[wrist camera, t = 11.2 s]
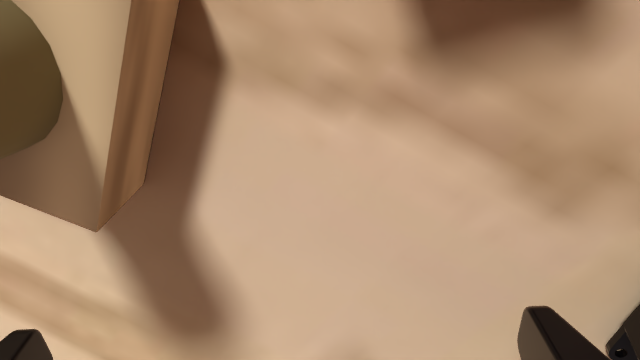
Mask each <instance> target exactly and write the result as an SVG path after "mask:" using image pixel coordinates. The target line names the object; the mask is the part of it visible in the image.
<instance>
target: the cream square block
mask: <svg viewBox="0 0 640 360" xmlns="http://www.w3.org/2000/svg"><path fill="white" fill-rule="evenodd" d="M11 1H13V2H14V3H15V4H16V5H17V6H18V7H19V8H20V9H21V10H23V11H24V12H25V13H26V14H27V15H28V16H29V17H30V18H31V19H32V20H33V22H34V23H35V24H36V26H37V27H38V29H39V30H40V32H41V33H42V35H43V36H44V37H45V39H46V40H47V42H48V43H49V45H50V47H51V50H52V52H53V55H54V57H55V60H56V62H57V65H58V68H59V70H60V73H61V83H62V93H63V102H62V106H61V110H60V114H59V118H58V122H57V123H56V125H55V126H54V127H53V129H52V130H51V131H50V133H49V134H48V135H47V137H46V138H45V139H43V140H41V141H40V142H38V143H36V144H34V145H32V146H30V147H28V148H26V149H24V150H21V151H19V152H16V153H14V154H12V155H9V156H7V157H4V158H2V159H0V195H1V196H3V197H6V198H9V199H11V200H14V201H16V202H19V203H22V204H24V205H27V206H29V207H32V208H34V209H37V210H40V211H42V212H45V213H47V214H50V215H53V216H55V217H58V218H60V219H63V220H66V221H68V222H71V223H73V224H76V225H78V226H81V227H84V228H86V229H89V230H91V231H94V232H97V231H98V230H99V229H100V228H101V227H102V226H103V225H104V224H105V223H106V222H107V221H108V220H109V219H110V218H111V217H112V216H113V215H114V214H115V213H116V212H117V211H118V210H119V209H120V208H121V207H122V206H123V205H124V204H125V203H126V202H127V201H128V200H129V199H130V198H131V197H132V196H133V195H134V194H135V193H136V191H137V190H138V189H139V188H140V187H141V186H142V185H143V184H144V179H145V174H146V169H147V164H148V159H149V154H150V148H151V143H152V138H153V133H154V128H155V123H156V118H157V112H158V107H159V102H160V97H161V92H162V87H163V82H164V77H165V71H166V66H167V61H168V56H169V51H170V46H171V41H172V36H173V30H174V25H175V20H176V15H177V10H178V5H179V0H11Z"/></svg>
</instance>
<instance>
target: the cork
mask: <svg viewBox="0 0 640 360" xmlns="http://www.w3.org/2000/svg"><path fill="white" fill-rule="evenodd" d="M62 102H63V93H62V83H61V73H60V70H59V68H58V65H57V62H56V60H55V57H54V55H53V52H52V50H51V47H50V45H49V43H48V42H47V40H46V39H45V37H44V36H43V35H42V33H41V32H40V30H39V29H38V27H37V26H36V24H35V23H34V22H33V20H32V19H31V18H30V17H29V16H28V15H27V14H26V13H25V12H24V11H23V10H21V9H20V8H19V7H18V6H17V5H16V4H15V3H14V2H13V1H11V0H0V159H2V158H4V157H7V156H9V155H12V154H14V153H16V152H19V151H21V150H24V149H26V148H28V147H30V146H32V145H34V144H36V143H38V142H40V141H41V140H43V139H45V138H46V137H47V135H48V134H49V133H50V131H51V130H52V129H53V127H54V126H55V125H56V123H57V122H58V118H59V114H60V110H61V106H62Z"/></svg>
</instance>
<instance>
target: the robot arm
mask: <svg viewBox="0 0 640 360" xmlns="http://www.w3.org/2000/svg"><path fill="white" fill-rule="evenodd" d="M518 349H519V353H520V357H521V360H610V359H609V358H608V357H607V356H606V355H604V354H603V353H602V352H601V351H600V350H599V349H598V348H596V347H595V346H594V345H593V344H592V343H591V342H589V341H588V340H587V339H586V338H585V337H584V336H583V335H581V334H580V333H579V332H578V331H577V330H576V329H575V328H573V327H572V326H571V325H570V324H569V323H568V322H567V321H565V320H564V319H563V318H562V317H561V316H560V315H559V314H557V313H556V312H555V311H554V310H553V309H552V308H550V307H548V306H529V307H526V308H525V309H524V312H523V315H522V320H521V324H520V328H519V333H518ZM618 349H623V350H621V351H616V350H618ZM606 350H607V352H608V355H609V357H610V358H611V359H612V360H640V305H639V306H638V307H637V308H636V309H635V311H634V312H633V313H632V314H631V315H630V316H629V318H628V319H627V320H626V321H625V322H624V324H623V325H622V327H621V328H620V329H619V330H618V331H617V332H616V334H615V335H614V336H613V337H612V338H611V339H610V340H609V342H608V343H607V345H606ZM0 360H53V357H52V354H51V352H50V350H49V348H48V346H47V344H46V342H45V340H44V338H43V336H42V334H41V333H40V332H39V331H38V330H36V329H25V330H16V331H13V332H11V333H10V334H9V335H8V336H6V337H5V338H4V339H3V340H1V341H0Z"/></svg>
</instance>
